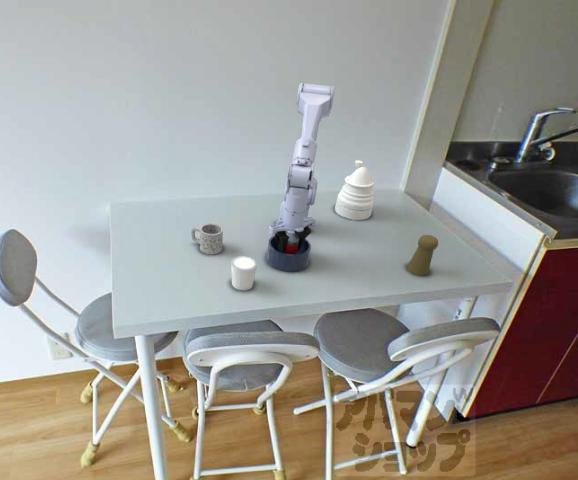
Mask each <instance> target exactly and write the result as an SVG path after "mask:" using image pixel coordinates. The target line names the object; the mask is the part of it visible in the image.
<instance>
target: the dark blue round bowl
mask: <svg viewBox="0 0 578 480" xmlns="http://www.w3.org/2000/svg"><path fill="white" fill-rule="evenodd" d="M311 249H312V244H311V243H310V241H309V240H308V239H307V238H306V239H305V240H304V242H303V243H302V245H301V248H300V250H298V251H297V254H295V255H291V254H285V253H281V252H279V251H278V245H277V241H276V238H275V235H271V237H269V239H268V243H267V252H266V261H267V263H268V265H270V266H271V267H273V268H274V269H276V270H279V271H282V272H288V273H290V272H292V273H294V272H299V271H302V270H304V269H305V268H306V267H307V266H308V265H309V261H310V255H311Z"/></svg>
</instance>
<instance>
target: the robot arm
mask: <svg viewBox="0 0 578 480" xmlns="http://www.w3.org/2000/svg"><path fill="white" fill-rule="evenodd" d="M335 94H336V87H335V85H323V84H314V83H306V82H301V83H299V85H298V89H297V95H296V110H297V113H298V114H299V115H301V116H303V118H302V126H301V127H302V128H301V135H300V138H298V139H297V140H296V141H295V144H294V149H293V154H292V160H291V165H289V166H288V170H287V174H286V181H285V186H284V191H283V197H282V198H283V201H282V202H281V203H280V206H279V214H278V220H277V221H275V224H272V225H269V227H268V233H269V234H270V235H271V236H274V235H275V238H276V241H277V245H278V251H279V252H281V253H285V248H286V244H287V241H288V239H289V238H290V237H289V236H288V235H286V233H295V234H297V235H298V236H299V245H298V250H300V248H301V245H302V243H303V242H304V240H305V239H306V240H307V238H308V236H309V235H310V234H311V233H312V229H311V227H314V226H316V221H317V219H316V218H314V216H309V211H310V209H311V208H310V207H311V206H313V205H315V201H316V196H317V189H318V180H317V178H315V176H314V175H315V159H316V154H317V150H318V149H317V148H318V144H317V143H318V142H317V137H318V131H319V126H320V123H321V121H322V119H323V118H327V117H329V116H330V114H331V111H332V109H333V103H334V98H335ZM310 226H311V227H310Z"/></svg>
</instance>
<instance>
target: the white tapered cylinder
mask: <svg viewBox="0 0 578 480" xmlns="http://www.w3.org/2000/svg"><path fill="white" fill-rule="evenodd" d="M230 265H231V266H230V267H231V268H230V269H231V270H230V271H231V285H232V287H233V288H234V289H236V290H239V291H248V290H251V289H252V288H253V286H254V280H255V277H256V271H257V268H258V262H257V260H256V259H254V258H253V257H251V256H248V255H239V256H236V257H233V258H232V259H231V262H230Z"/></svg>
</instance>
